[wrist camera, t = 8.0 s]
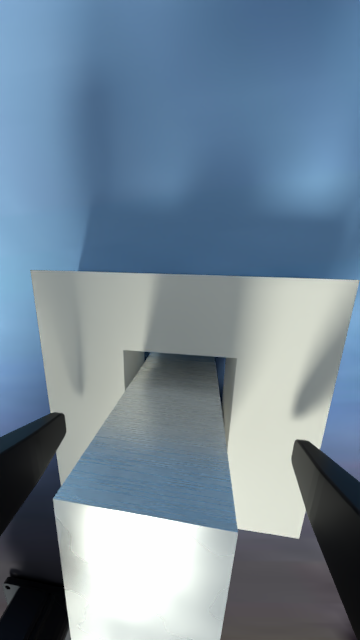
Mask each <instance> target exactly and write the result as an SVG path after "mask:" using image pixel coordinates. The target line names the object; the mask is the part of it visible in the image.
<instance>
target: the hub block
mask: <svg viewBox="0 0 360 640" xmlns="http://www.w3.org/2000/svg"><path fill="white" fill-rule="evenodd" d="M30 271H31V278H32V285H33V292H34V299H35V306H36V313H37V320H38V327H39V334H40V341H41V348H42V355H43V363H44V370H45V377H46V384H47V391H48V398H49V405H50V412H51V413H53V412H58V413H63V414H64V415H65V422H66V435H65V437H64V439H63V440H62V442H61V444H60V446H59V447H58V449H57V451H56V454H57V462H58V469H59V476H60V483H61V486H62V484H63V483H64V482H65V480H66V479H67V477H68V476H69V474H70V473H71V471H72V470H73V468H74V467H75V465H76V464H77V462H78V461H79V459H80V458H81V456H82V455H83V453H84V452H85V450H86V449H87V447H88V446H89V444H90V443H91V441H92V440H93V438H94V437H95V435H96V434H97V432H98V431H99V429H100V428H101V426H102V425H103V423H104V422H105V420H106V419H107V417H108V416H109V414H110V413H111V411H112V410H113V408H114V407H115V405H116V404H117V402H118V401H119V399H120V398H121V396H122V395H123V393H124V392H125V390H126V389H127V387H128V386H129V384H130V383H131V382H132V380H133V379H134V377H135V376H136V374H137V373H138V371H139V370H140V368H141V367H142V365H143V364H144V362H145V355H144V352H158V353H172V354H185V355H199V356H213V357H226V361H225V372H224V384H223V395H222V406H221V408H222V415H223V423H224V431H225V438H226V446H227V453H228V461H229V468H230V476H231V484H232V491H233V499H234V506H235V514H236V522H237V529H243V530H249V531H255V532H261V533H268V534H274V535H280V536H286V537H292V538H299V537H300V532H301V528H302V524H303V519H304V515H305V511H306V508H305V505H304V502H303V499H302V495H301V492H300V489H299V486H298V482H297V479H296V476H295V473H294V469H293V466H292V462H291V456H292V451H293V446H294V442H295V440H296V439H300V440H307V441H309V442H311V443H312V444H313V445H314V446H316V447H317V448H318V449H319V450H320V447H321V443H322V438H323V434H324V430H325V425H326V421H327V417H328V413H329V408H330V404H331V400H332V395H333V391H334V387H335V383H336V378H337V374H338V370H339V366H340V361H341V357H342V353H343V348H344V344H345V340H346V336H347V331H348V327H349V323H350V318H351V314H352V310H353V306H354V301H355V297H356V293H357V289H358V284H359V280H342V279H318V278H287V277H254V276H221V275H188V274H155V273H122V272H89V271H46V270H30Z"/></svg>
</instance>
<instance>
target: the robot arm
mask: <svg viewBox="0 0 360 640" xmlns="http://www.w3.org/2000/svg"><path fill="white" fill-rule="evenodd" d="M65 435H66V422H65V415H64V414H63V413H58V412H53V413H50V414H48V415H46V416H44V417H42V418H40V419H38V420H36V421H34V422H31V423H29V424H27V425H25V426H23V427H21V428H19V429H17V430H14V431H12V432H10V433H8V434H6V435H4V436H2V437H0V536H1V534H2V533H3V532H4V530H5V529H6V527H7V526H8V524H9V523H10V521H11V520H12V519H13V517H14V516H15V514H16V513H17V511H18V510H19V508H20V507H21V506H22V504H23V503H24V501H25V500H26V498H27V497H28V495H29V494H30V492H31V491H32V490H33V488H34V487H35V485H36V484H37V482H38V481H39V479H40V478H41V476H42V474H43V473H44V471H45V470H46V468H47V466H48V464H49V463H50V461H51V459H52V458H53V456H54V454H55V452H56V451H57V449H58V447H59V446H60V444H61V442H62V440H63V439H64V437H65ZM291 462H292V466H293V469H294V473H295V476H296V479H297V482H298V486H299V489H300V492H301V495H302V499H303V502H304V505H305V508H306V511H307V514H308V517H309V520H310V523H311V525H312V528H313V531H314V533H315V536H316V538H317V541H318V543H319V546H320V548H321V551H322V553H323V556H324V558H325V561H326V563H327V565H328V568H329V570H330V573H331V575H332V578H333V580H334V583H335V585H336V588H337V590H338V593H339V595H340V598H341V600H342V603H343V605H344V608H345V610H346V613H347V615H348V618H349V620H350V623H351V625H352V628H353V630H354V633H355V635H356V638H357V640H360V482H359V481H358V480H357V479H355V478H354V477H353V476H352V475H350V474H349V473H348V472H347V471H345V470H344V469H343V468H342V467H340V466H339V465H338V464H337V463H335V462H334V461H333V460H332V459H331V458H329V457H328V456H327V455H326V454H324V453H323V452H322V451H321V450H319V449H318V448H317V447H316V446H314V445H313V444H312V443H311V442H309V441H307V440H300V439H296V440H295V442H294V446H293V451H292V456H291ZM3 590H4V593H5V597H6V601H7V604H8V606H7V608H6V610H5V612H4V613H3V615H2V617H1V618H0V640H71V636H70V628H69V620H68V612H67V605H66V597H65V589H64V588H61V587H56V586H52V585H47V584H42V583H37V582H33V581H28V580H23V579H19V578H14V577H8V578H7V579H6V581H5V582H4V584H3Z"/></svg>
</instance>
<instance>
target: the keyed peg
mask: <svg viewBox="0 0 360 640" xmlns="http://www.w3.org/2000/svg"><path fill="white" fill-rule="evenodd" d="M53 504H54V512H55V519H56V527H57V535H58V543H59V550H60V558H61V566H62V574H63V581H64V589H65V597H66V605H67V612H68V620H69V628H70V636H71V640H220V637H221V631H222V625H223V619H224V613H225V607H226V601H227V595H228V589H229V583H230V577H231V571H232V565H233V559H234V553H235V547H236V541H237V535H238V529H237V522H236V514H235V506H234V499H233V491H232V484H231V476H230V468H229V461H228V453H227V446H226V438H225V431H224V423H223V415H222V408H221V400H220V393H219V385H218V377H217V370H216V362H215V357H213V356H199V355H185V354H172V353H158V352H151V353H150V355H149V356H148V358H147V359H146V361H145V362H144V364H143V365H142V367H141V368H140V370H139V371H138V373H137V374H136V376H135V377H134V379H133V380H132V382H131V383H130V384H129V386H128V387H127V389H126V390H125V392H124V393H123V395H122V396H121V398H120V399H119V401H118V402H117V404H116V405H115V407H114V408H113V410H112V411H111V413H110V414H109V416H108V417H107V419H106V420H105V422H104V423H103V425H102V426H101V428H100V429H99V431H98V432H97V434H96V435H95V437H94V438H93V440H92V441H91V443H90V444H89V446H88V447H87V449H86V450H85V452H84V453H83V455H82V456H81V458H80V459H79V461H78V462H77V464H76V465H75V467H74V468H73V470H72V471H71V473H70V474H69V476H68V477H67V479H66V480H65V482H64V483H63V484H62V486H61V487H60V489H59V490H58V492H57V493H56V495H55V496H54V498H53Z"/></svg>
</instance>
